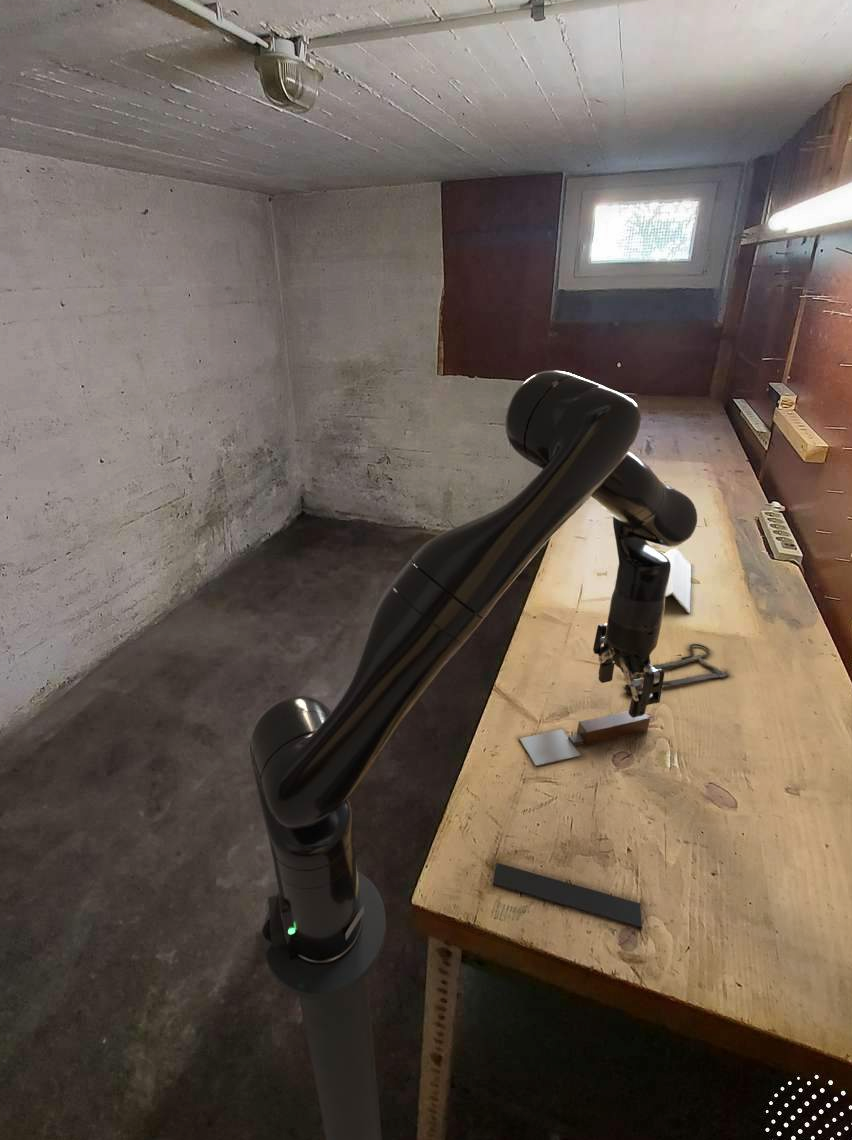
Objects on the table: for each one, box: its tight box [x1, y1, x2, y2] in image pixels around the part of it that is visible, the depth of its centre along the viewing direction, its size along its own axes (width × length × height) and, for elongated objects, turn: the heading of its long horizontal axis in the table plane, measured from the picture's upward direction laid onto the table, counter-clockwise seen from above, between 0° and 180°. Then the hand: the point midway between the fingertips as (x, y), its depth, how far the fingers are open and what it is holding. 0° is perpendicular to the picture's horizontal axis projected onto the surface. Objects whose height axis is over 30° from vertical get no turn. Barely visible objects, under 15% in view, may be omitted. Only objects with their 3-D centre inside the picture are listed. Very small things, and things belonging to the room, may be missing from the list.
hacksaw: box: [622, 643, 731, 695], centre depth 110 cm, size 24×10×2 cm, turn 103°
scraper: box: [519, 710, 651, 767], centre depth 94 cm, size 22×6×3 cm, turn 104°
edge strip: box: [492, 862, 643, 929], centre depth 72 cm, size 18×3×1 cm, turn 72°
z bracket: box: [662, 546, 692, 614], centre depth 139 cm, size 12×25×6 cm
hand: (619, 697), depth 92 cm, fingers open, 8 cm apart
